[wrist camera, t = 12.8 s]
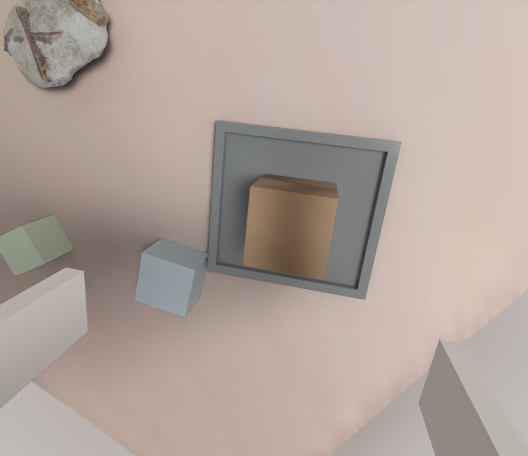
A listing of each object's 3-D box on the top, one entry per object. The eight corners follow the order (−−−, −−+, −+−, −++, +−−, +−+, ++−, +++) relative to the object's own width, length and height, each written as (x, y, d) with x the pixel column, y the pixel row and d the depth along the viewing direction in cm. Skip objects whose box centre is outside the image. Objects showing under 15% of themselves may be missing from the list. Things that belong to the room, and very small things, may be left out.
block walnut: (258, 239, 31) (242, 265, 25) (265, 173, 29) (250, 186, 23) (324, 249, 30) (323, 279, 24) (336, 183, 28) (338, 198, 22)
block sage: (47, 260, 37) (14, 276, 33) (27, 227, 36) (-9, 239, 32) (74, 248, 36) (44, 263, 32) (54, 214, 35) (21, 225, 31)
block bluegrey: (155, 281, 35) (134, 300, 31) (162, 237, 33) (141, 252, 30) (200, 296, 35) (184, 317, 31) (210, 253, 33) (195, 270, 29)
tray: (211, 265, 33) (207, 270, 32) (220, 120, 29) (216, 120, 28) (363, 293, 31) (364, 299, 30) (398, 141, 27) (401, 142, 26)
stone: (52, 106, 31) (26, 103, 28) (8, 28, 30) (-23, 18, 27) (130, 46, 27) (108, 37, 25) (84, -43, 27) (56, -61, 24)
